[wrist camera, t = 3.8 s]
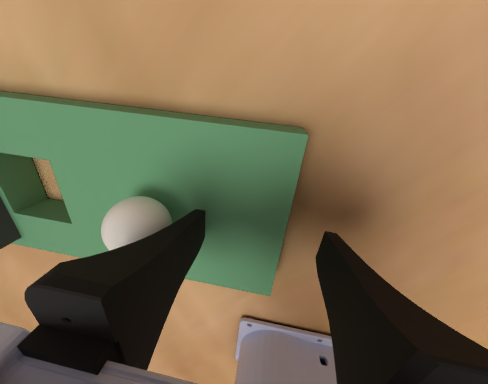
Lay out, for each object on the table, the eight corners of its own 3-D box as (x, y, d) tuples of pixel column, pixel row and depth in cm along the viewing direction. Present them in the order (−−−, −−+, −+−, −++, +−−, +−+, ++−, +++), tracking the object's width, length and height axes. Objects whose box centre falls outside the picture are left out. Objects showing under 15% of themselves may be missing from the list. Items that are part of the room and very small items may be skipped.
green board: (302, 127, 12) (326, 157, 6) (271, 270, 17) (267, 358, 11) (-39, 86, 14) (-260, 79, 8) (28, 223, 19) (-78, 277, 14)
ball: (180, 191, 12) (145, 225, 9) (183, 237, 14) (154, 280, 10) (126, 182, 12) (73, 212, 9) (135, 228, 14) (92, 267, 11)
